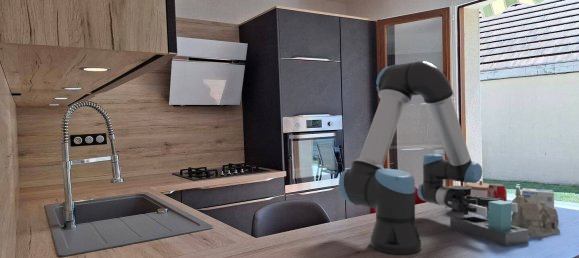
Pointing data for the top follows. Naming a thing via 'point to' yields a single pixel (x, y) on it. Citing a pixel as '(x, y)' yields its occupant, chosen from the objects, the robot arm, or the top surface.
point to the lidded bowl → (478, 189)
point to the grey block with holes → (488, 230)
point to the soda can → (497, 191)
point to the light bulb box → (539, 196)
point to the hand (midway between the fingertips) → (501, 210)
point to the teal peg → (499, 215)
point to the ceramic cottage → (534, 217)
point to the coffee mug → (464, 188)
